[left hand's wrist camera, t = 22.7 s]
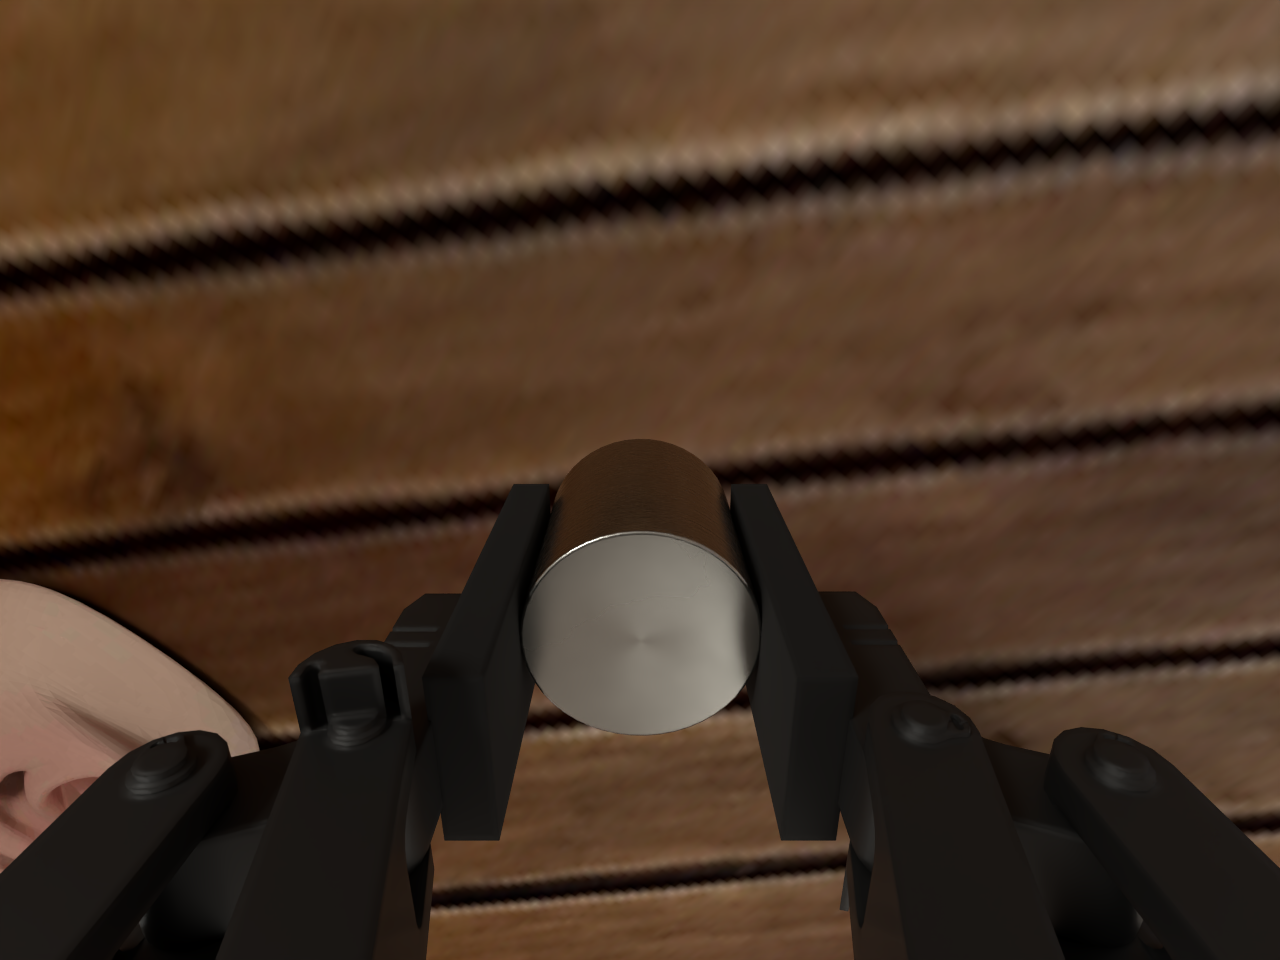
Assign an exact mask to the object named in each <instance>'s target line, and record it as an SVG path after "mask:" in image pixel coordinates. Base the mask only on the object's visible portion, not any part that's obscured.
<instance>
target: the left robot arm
mask: <svg viewBox="0 0 1280 960" xmlns="http://www.w3.org/2000/svg"><path fill="white" fill-rule="evenodd" d="M730 512H731V515H732V519H733V522H734V525H735V529H736V532H737V535H738V539H739V542H740V545H741V549H742V552H743V556H744V559H745V562H746V566H747V569H748V572H749V576H750V579H751V582H752V586H753V589H754V592H755V596H756V599H757V603H758V606H759V610H760V615H761V619H762V632H761V645H760V653H759V658H758V661H757V663H756V666H755V668H754V670H753V673H752V675H751V676H750V678H749V680H748V681H747V683H746V687H747V692H748V696H749V701H750V705H751V709H752V714H753V718H754V723H755V727H756V731H757V736H758V740H759V745H760V749H761V754H762V758H763V762H764V767H765V771H766V776H767V780H768V785H769V789H770V793H771V798H772V802H773V807H774V811H775V815H776V820H777V824H778V829H779V833H780V838H781V840H836V836H837V829H838V822H839V814H840V811H841V814H842V817H843V820H844V823H845V826H846V829H847V832H848V835H849V838H850V844H849V851H848V857H847V864H846V871H845V877H844V884H843V891H842V897H841V904H840V910H844V911H848V910H849V908H850V919H851V930H852V941H853V951H854V960H1280V868H1279V867H1278V866H1277V865H1276V864H1275V863H1274V862H1273V861H1272V860H1271V859H1270V858H1269V857H1268V856H1267V855H1265V854H1264V853H1263V852H1262V851H1261V850H1260V849H1259V848H1258V847H1257V846H1256V845H1255V844H1254V843H1253V842H1252V841H1251V840H1250V839H1249V838H1248V837H1247V836H1246V835H1245V834H1244V833H1243V832H1242V831H1241V830H1240V829H1239V828H1238V827H1237V826H1236V825H1235V824H1233V823H1232V822H1231V821H1230V820H1229V819H1228V818H1227V817H1226V816H1225V815H1224V814H1223V813H1222V812H1221V811H1220V810H1219V809H1218V808H1217V807H1216V806H1215V805H1214V804H1213V803H1212V802H1211V801H1210V800H1209V799H1208V798H1207V797H1206V796H1205V795H1204V794H1203V793H1201V792H1200V791H1199V790H1198V789H1197V788H1196V787H1195V786H1194V785H1193V784H1192V783H1191V782H1190V781H1189V780H1188V779H1187V778H1186V777H1185V776H1184V775H1183V774H1182V773H1181V772H1180V771H1179V770H1178V769H1177V768H1176V767H1175V766H1174V765H1172V764H1171V763H1170V762H1168V761H1167V760H1166V759H1165V758H1163V757H1162V756H1161V755H1159V754H1158V753H1157V752H1156V751H1154V750H1153V749H1151V748H1149V747H1147V746H1145V745H1143V744H1141V743H1139V742H1137V741H1135V740H1133V739H1131V738H1129V737H1127V736H1123V735H1120V734H1117V733H1114V732H1110V731H1107V730H1104V729H1094V728H1084V727H1080V728H1075V729H1070V730H1065V731H1063V732H1062V733H1061V734H1060V735H1059V736H1057V737H1056V738H1055V739H1054V742H1053V745H1052V749H1051V753H1050V754H1046V753H1041V752H1037V751H1032V750H1028V749H1023V748H1019V747H1014V746H1010V745H1005V744H1002V743H998V742H995V741H991V740H988V739H985V738H983V737H981V735H980V733H979V731H978V729H977V728H976V726H975V725H974V723H973V722H972V720H971V719H970V718H969V717H968V716H967V715H966V714H964V713H963V712H962V711H961V710H959V709H958V708H957V707H955V706H954V705H952V704H950V703H948V702H946V701H944V700H941V699H939V698H937V697H935V696H931V695H930V694H929V692H928V691H927V689H926V687H925V686H924V684H923V682H922V681H921V679H920V677H919V676H918V674H917V672H916V671H915V669H914V668H913V666H912V664H911V663H910V661H909V659H908V658H907V656H906V654H905V653H904V651H903V649H902V648H901V646H900V645H898V644H897V640H896V638H895V636H894V635H893V633H892V631H891V630H890V629H888V625H887V623H886V622H885V620H884V618H883V617H882V615H881V613H880V612H879V610H878V608H877V607H876V606H874V605H873V604H872V603H870V602H869V601H867V600H866V599H865V598H863V597H862V596H861V595H859V594H858V593H857V592H818V591H817V589H816V587H815V584H814V582H813V580H812V578H811V576H810V574H809V572H808V570H807V568H806V566H805V563H804V561H803V559H802V557H801V555H800V553H799V551H798V549H797V547H796V545H795V542H794V540H793V538H792V536H791V534H790V532H789V530H788V528H787V526H786V524H785V521H784V519H783V517H782V515H781V513H780V511H779V509H778V507H777V505H776V503H775V500H774V498H773V496H772V494H771V492H770V490H769V488H768V486H767V484H731V502H730ZM550 515H551V512H550V493H549V484H514V485H513V487H512V489H511V491H510V493H509V495H508V497H507V499H506V501H505V504H504V506H503V508H502V510H501V512H500V514H499V516H498V518H497V520H496V522H495V525H494V527H493V529H492V531H491V533H490V535H489V537H488V539H487V541H486V544H485V546H484V548H483V550H482V552H481V554H480V556H479V558H478V560H477V562H476V565H475V567H474V569H473V571H472V573H471V575H470V577H469V579H468V581H467V583H466V586H465V588H464V590H463V592H462V594H424V595H423V596H422V597H420V598H419V599H417V600H416V601H415V602H413V603H412V604H411V605H409V606H408V607H407V608H405V609H404V610H403V612H402V614H401V615H400V617H399V618H398V620H397V622H396V623H395V625H394V627H393V631H392V632H390V633H389V635H388V637H387V638H386V640H385V642H381V641H378V640H356V641H351V642H346V643H341V644H336V645H333V646H331V647H329V648H326V649H324V650H321V651H319V652H317V653H315V654H313V655H312V656H310V657H309V658H307V659H306V660H304V661H303V662H302V663H300V664H299V665H298V666H297V667H296V669H295V670H294V671H293V672H292V674H291V675H290V676H289V683H290V687H291V692H292V696H293V701H294V705H295V710H296V714H297V719H298V723H299V727H300V732H301V734H300V736H299V739H298V740H297V741H295V742H292V743H288V744H285V745H282V746H278V747H274V748H270V749H265V750H261V751H256V752H252V753H247V754H243V755H238V756H234V757H231V754H230V751H229V747H228V743H227V742H226V741H225V740H224V739H223V738H222V737H221V736H220V735H219V734H218V733H213V732H208V731H203V730H195V731H185V732H177V733H174V734H170V735H167V736H163V737H160V738H157V739H154V740H152V741H150V742H148V743H146V744H144V745H142V746H140V747H138V748H136V749H134V750H132V751H130V752H128V753H127V754H126V755H125V756H123V757H122V758H121V759H119V760H118V761H117V762H116V763H114V764H113V765H112V766H110V767H109V768H108V769H107V770H106V771H105V772H104V773H103V774H102V775H101V776H100V777H99V778H98V779H97V780H96V781H95V782H94V783H93V784H92V785H91V786H89V787H88V788H87V789H86V790H85V791H84V792H83V793H82V794H81V795H80V796H79V797H78V798H77V799H76V800H75V801H74V802H73V803H72V804H71V805H70V806H69V807H68V808H67V809H66V810H65V811H64V812H63V813H62V814H61V815H60V816H59V817H58V818H57V819H56V820H55V821H54V822H53V823H52V824H51V825H50V826H48V827H47V828H46V829H45V830H44V831H43V832H42V833H41V834H40V835H39V836H38V837H37V838H36V839H35V840H34V841H33V842H32V843H31V844H30V845H29V846H28V847H27V848H26V849H25V850H24V851H23V852H22V853H21V854H20V855H19V856H18V857H17V858H16V859H15V860H14V861H13V862H12V863H11V864H10V865H9V866H8V867H6V868H5V869H4V870H3V871H2V872H1V873H0V960H426V953H427V942H428V931H429V921H430V910H431V899H432V888H433V877H434V864H433V857H432V851H431V844H430V843H431V840H432V837H433V834H434V831H435V828H436V825H437V822H438V819H439V816H440V813H441V818H442V825H443V833H444V840H500V835H501V831H502V826H503V822H504V817H505V813H506V809H507V804H508V800H509V795H510V791H511V787H512V782H513V778H514V773H515V769H516V764H517V760H518V756H519V751H520V747H521V742H522V738H523V733H524V729H525V725H526V720H527V716H528V711H529V707H530V703H531V698H532V694H533V689H534V685H535V682H534V680H533V678H532V676H531V674H530V672H529V671H528V668H527V666H526V663H525V660H524V658H523V654H522V649H521V644H520V621H521V615H522V611H523V607H524V603H525V600H526V596H527V593H528V590H529V586H530V583H531V579H532V576H533V573H534V569H535V566H536V563H537V559H538V556H539V552H540V549H541V546H542V542H543V539H544V535H545V532H546V529H547V525H548V522H549V519H550Z"/></svg>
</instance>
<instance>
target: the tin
mask: <svg viewBox="0 0 1280 960" xmlns="http://www.w3.org/2000/svg"><path fill="white" fill-rule="evenodd" d="M761 632H762V619H761V615H760V610H759V606H758V603H757V599H756V596H755V592H754V589H753V586H752V582H751V579H750V576H749V572H748V569H747V566H746V562H745V559H744V556H743V552H742V549H741V545H740V542H739V539H738V535H737V532H736V529H735V525H734V522H733V519H732V515H731V512H730V509H729V505H728V502H727V498H726V496H725V493H724V490H723V488H722V486H721V484H720V483H719V481H718V479H717V478H716V476H715V475H714V474H713V472H712V471H711V470H710V469H709V468H708V467H707V466H706V465H705V464H704V462H702V461H701V460H700V459H699V458H697V457H696V456H695V455H693V454H692V453H690V452H688V451H686V450H685V449H683V448H680V447H678V446H676V445H673V444H670V443H666V442H663V441H657V440H650V439H632V440H624V441H620V442H615V443H612V444H609V445H606V446H604V447H601V448H599V449H597V450H596V451H594V452H592V453H590V454H589V455H587V456H586V457H585V458H583V459H582V460H581V461H580V462H579V463H577V464H576V465H575V466H574V467H573V468H572V470H571V471H570V472H569V473H568V475H567V476H566V477H565V479H564V481H563V482H562V484H561V486H560V488H559V490H558V493H557V495H556V498H555V502H554V505H553V508H552V512H551V515H550V519H549V522H548V525H547V529H546V532H545V535H544V539H543V542H542V546H541V549H540V552H539V556H538V559H537V563H536V566H535V569H534V573H533V576H532V579H531V583H530V586H529V590H528V593H527V596H526V600H525V603H524V607H523V611H522V615H521V621H520V644H521V649H522V654H523V658H524V660H525V663H526V666H527V668H528V671H529V672H530V674H531V676H532V678H533V680H534V682H535V683H536V684H537V686H538V687H539V688H540V690H541V691H542V692H543V694H544V695H545V696H546V697H547V698H548V699H549V700H550V701H551V702H552V703H553V704H554V705H556V706H557V707H558V708H559V709H561V710H562V711H563V712H565V713H566V714H568V715H569V716H571V717H573V718H574V719H576V720H578V721H580V722H582V723H584V724H587V725H589V726H592V727H595V728H597V729H600V730H604V731H608V732H613V733H617V734H625V735H657V734H664V733H669V732H675V731H678V730H681V729H685V728H688V727H691V726H693V725H695V724H698V723H700V722H702V721H704V720H706V719H708V718H709V717H711V716H713V715H715V714H716V713H717V712H719V711H720V710H721V709H723V708H724V707H725V706H727V705H728V704H729V703H730V702H731V701H732V700H733V699H734V698H735V697H736V696H737V695H738V694H739V692H740V691H741V690H742V689H743V687H744V686H745V685H746V683H747V681H748V680H749V678H750V676H751V675H752V673H753V670H754V668H755V666H756V663H757V661H758V658H759V653H760V645H761Z"/></svg>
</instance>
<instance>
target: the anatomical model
mask: <svg viewBox="0 0 1280 960" xmlns="http://www.w3.org/2000/svg"><path fill="white" fill-rule="evenodd" d="M195 730H203V731H208V732H213V733H218V734H219V735H220V736H221V737H222V738H223V739H224V740H225V741H226V742H227V743H228V747H229V751H230V754H231V757H234V756H238V755H243V754H247V753H252V752H256V751H259V746H258V742H257V738H256V736H255V735H254V733H253V731H252V729H251V727H250V726H249V725H248V723H247V722H246V721H245V720H244V719H243V718H242V716H241V715H240V714H239V713H238V712H237V711H236V710H235V709H234V708H233V707H232V706H231V705H230V704H229V703H227V702H226V701H225V700H224V699H223V698H222V697H221V696H219V695H218V694H217V693H216V692H215V691H214V690H212V689H211V688H210V687H209V686H208V685H206V684H205V683H204V682H203V681H201V680H200V679H199V678H197V677H196V676H195V675H193V674H192V673H191V672H189V671H188V670H187V669H185V668H184V667H183V666H181V665H180V664H178V663H177V662H176V661H174V660H173V659H172V658H170V657H169V656H167V655H166V654H164V653H163V652H161V651H160V650H158V649H157V648H155V647H154V646H152V645H151V644H149V643H148V642H147V641H145V640H144V639H142V638H141V637H139V636H138V635H136V634H135V633H133V632H131V631H130V630H128V629H126V628H125V627H123V626H122V625H120V624H118V623H117V622H115V621H114V620H112V619H110V618H109V617H107V616H105V615H103V614H101V613H99V612H98V611H96V610H94V609H92V608H90V607H88V606H87V605H85V604H83V603H81V602H79V601H76V600H74V599H72V598H70V597H67V596H65V595H63V594H61V593H58V592H56V591H54V590H51V589H48V588H45V587H42V586H38V585H35V584H31V583H27V582H22V581H15V580H6V579H0V873H1V872H2V871H3V870H4V869H5V868H6V867H8V866H9V865H10V864H11V863H12V862H13V861H14V860H15V859H16V858H17V857H18V856H19V855H20V854H21V853H22V852H23V851H24V850H25V849H26V848H27V847H28V846H29V845H30V844H31V843H32V842H33V841H34V840H35V839H36V838H37V837H38V836H39V835H40V834H41V833H42V832H43V831H44V830H45V829H46V828H47V827H48V826H50V825H51V824H52V823H53V822H54V821H55V820H56V819H57V818H58V817H59V816H60V815H61V814H62V813H63V812H64V811H65V810H66V809H67V808H68V807H69V806H70V805H71V804H72V803H73V802H74V801H75V800H76V799H77V798H78V797H79V796H80V795H81V794H82V793H83V792H84V791H85V790H86V789H87V788H88V787H89V786H91V785H92V784H93V783H94V782H95V781H96V780H97V779H98V778H99V777H100V776H101V775H102V774H103V773H104V772H105V771H106V770H107V769H108V768H109V767H110V766H112V765H113V764H114V763H116V762H117V761H118V760H119V759H121V758H122V757H123V756H125V755H126V754H127V753H128V752H130V751H132V750H134V749H136V748H138V747H140V746H142V745H144V744H146V743H148V742H150V741H152V740H154V739H157V738H160V737H163V736H167V735H170V734H174V733H177V732H185V731H195Z"/></svg>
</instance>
